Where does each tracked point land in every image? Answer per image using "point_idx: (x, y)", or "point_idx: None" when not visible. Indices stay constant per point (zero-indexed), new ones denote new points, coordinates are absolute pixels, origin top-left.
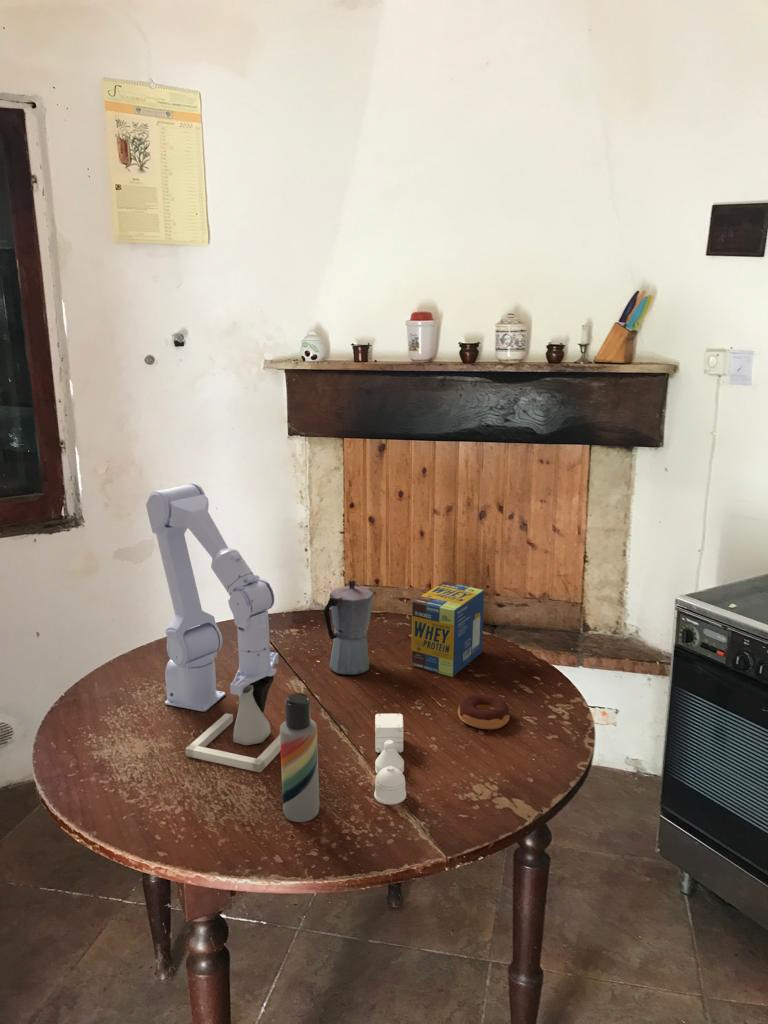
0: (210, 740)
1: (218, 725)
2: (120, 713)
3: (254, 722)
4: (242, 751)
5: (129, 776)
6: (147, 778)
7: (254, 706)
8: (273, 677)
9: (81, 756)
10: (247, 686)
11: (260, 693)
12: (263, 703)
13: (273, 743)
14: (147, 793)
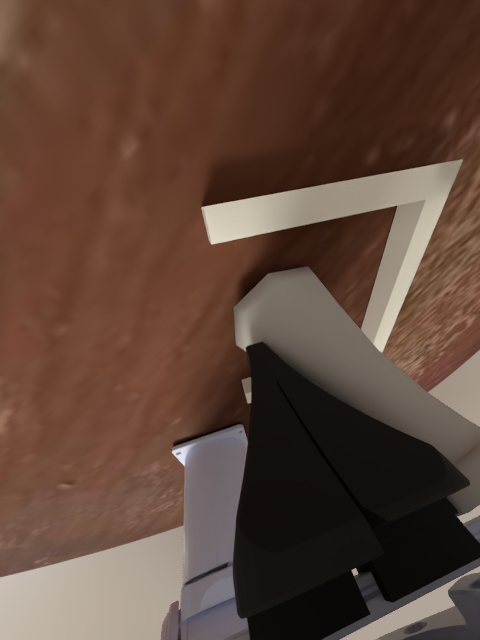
0: None
1: None
2: None
3: (346, 313)
4: (337, 286)
5: (414, 362)
6: (421, 345)
7: (371, 363)
8: (274, 581)
9: None
10: None
11: (370, 419)
12: (273, 368)
13: (339, 209)
14: (458, 318)
